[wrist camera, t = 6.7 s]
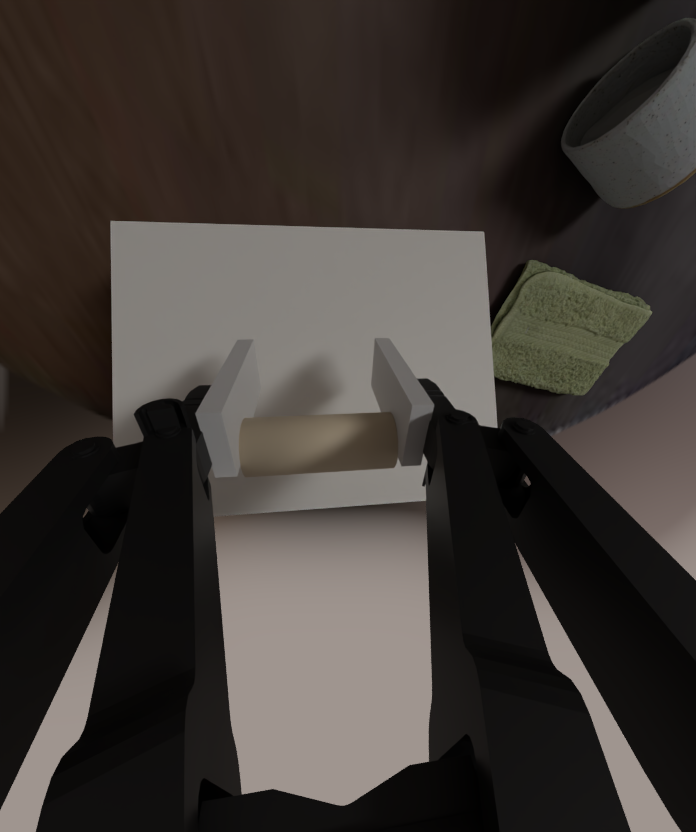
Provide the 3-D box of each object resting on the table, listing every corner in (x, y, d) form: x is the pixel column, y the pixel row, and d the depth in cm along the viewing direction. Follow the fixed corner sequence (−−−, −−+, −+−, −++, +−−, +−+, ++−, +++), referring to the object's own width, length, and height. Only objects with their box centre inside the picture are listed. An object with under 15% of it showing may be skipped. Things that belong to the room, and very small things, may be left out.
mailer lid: (119, 229, 19) (-44, 64, 10) (477, 239, 22) (583, 114, 13) (122, 519, 18) (-50, 599, 10) (494, 492, 21) (619, 535, 12)
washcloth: (519, 253, 30) (540, 256, 28) (642, 299, 34) (670, 305, 32) (459, 368, 37) (471, 379, 34) (568, 394, 41) (586, 406, 38)
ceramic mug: (591, 217, 29) (673, 215, 22) (539, 159, 26) (617, 137, 19) (700, 83, 24) (842, 33, 18) (653, -6, 21) (804, -104, 15)
